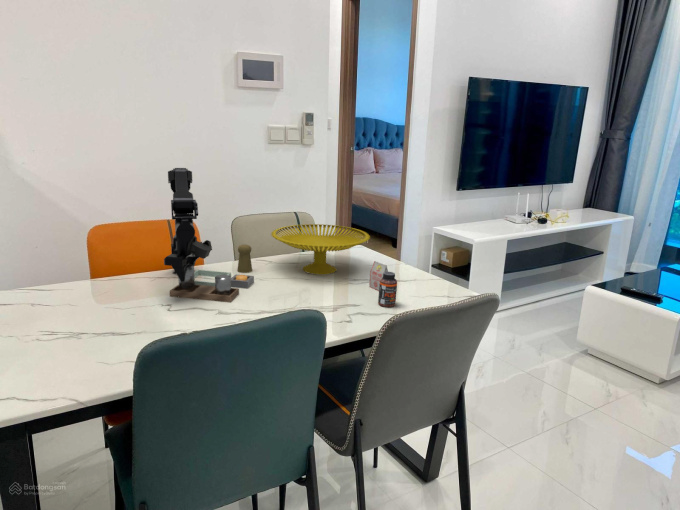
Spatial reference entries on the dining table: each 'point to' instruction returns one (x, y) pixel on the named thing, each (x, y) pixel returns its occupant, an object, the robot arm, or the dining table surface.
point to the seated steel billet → (223, 285)
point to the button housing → (242, 282)
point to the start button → (241, 277)
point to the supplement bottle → (387, 290)
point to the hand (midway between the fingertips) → (186, 279)
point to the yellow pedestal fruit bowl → (320, 243)
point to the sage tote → (208, 273)
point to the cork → (244, 259)
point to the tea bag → (377, 274)
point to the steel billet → (188, 278)
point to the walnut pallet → (203, 293)
